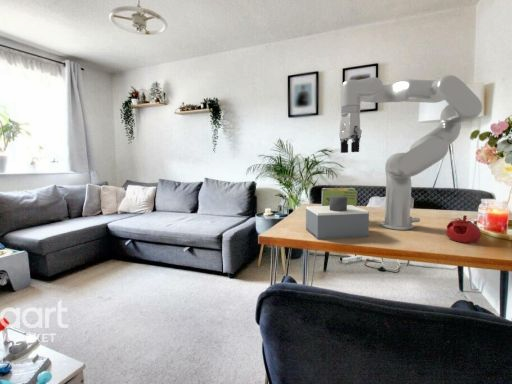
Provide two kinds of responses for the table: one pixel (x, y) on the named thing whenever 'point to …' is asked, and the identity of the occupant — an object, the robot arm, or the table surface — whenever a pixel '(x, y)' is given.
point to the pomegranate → (463, 231)
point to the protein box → (345, 192)
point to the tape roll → (338, 203)
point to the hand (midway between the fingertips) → (349, 152)
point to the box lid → (326, 211)
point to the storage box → (337, 225)
